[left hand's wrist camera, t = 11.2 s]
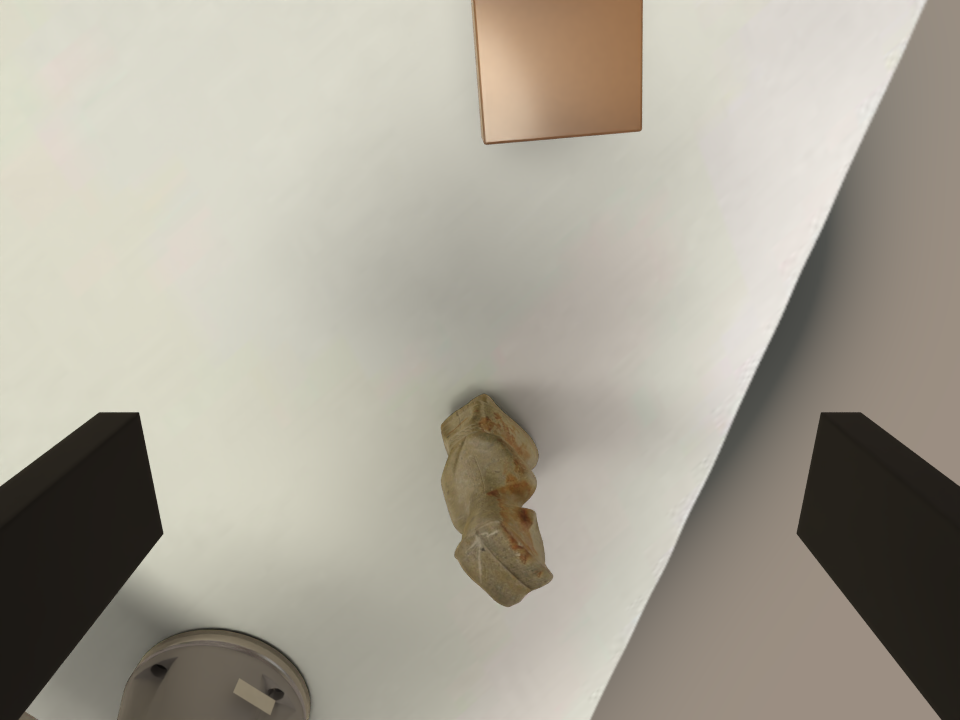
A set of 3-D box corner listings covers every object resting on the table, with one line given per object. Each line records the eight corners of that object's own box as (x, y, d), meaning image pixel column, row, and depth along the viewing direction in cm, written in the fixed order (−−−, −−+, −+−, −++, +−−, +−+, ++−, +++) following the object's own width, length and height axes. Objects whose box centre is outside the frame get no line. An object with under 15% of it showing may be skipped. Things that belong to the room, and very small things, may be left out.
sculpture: (484, 485, 48) (486, 634, 34) (427, 413, 46) (405, 540, 32) (550, 446, 47) (579, 583, 33) (494, 371, 45) (501, 482, 31)
